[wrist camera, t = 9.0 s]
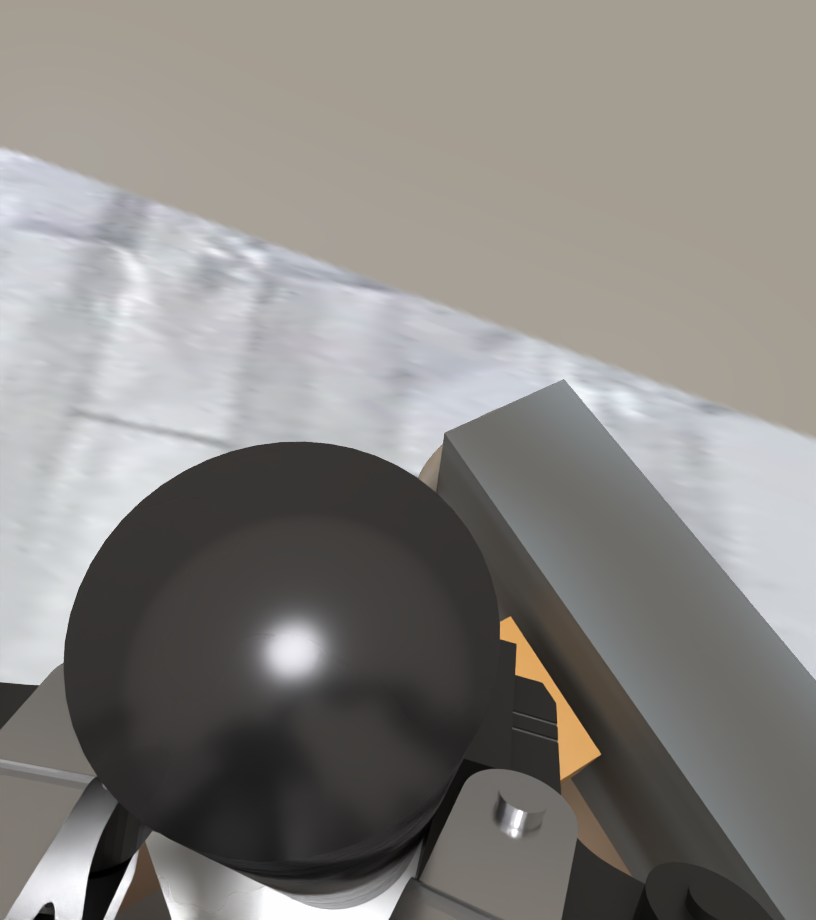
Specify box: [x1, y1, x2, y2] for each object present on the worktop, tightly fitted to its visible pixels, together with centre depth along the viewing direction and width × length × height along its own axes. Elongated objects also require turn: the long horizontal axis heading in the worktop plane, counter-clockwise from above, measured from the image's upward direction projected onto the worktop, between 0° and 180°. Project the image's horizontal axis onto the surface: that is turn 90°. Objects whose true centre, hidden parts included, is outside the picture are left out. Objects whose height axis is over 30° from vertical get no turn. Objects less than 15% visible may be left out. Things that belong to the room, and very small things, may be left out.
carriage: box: [63, 442, 500, 920], centre depth 10 cm, size 6×6×12 cm
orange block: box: [500, 616, 601, 784], centre depth 15 cm, size 2×3×2 cm, turn 29°
